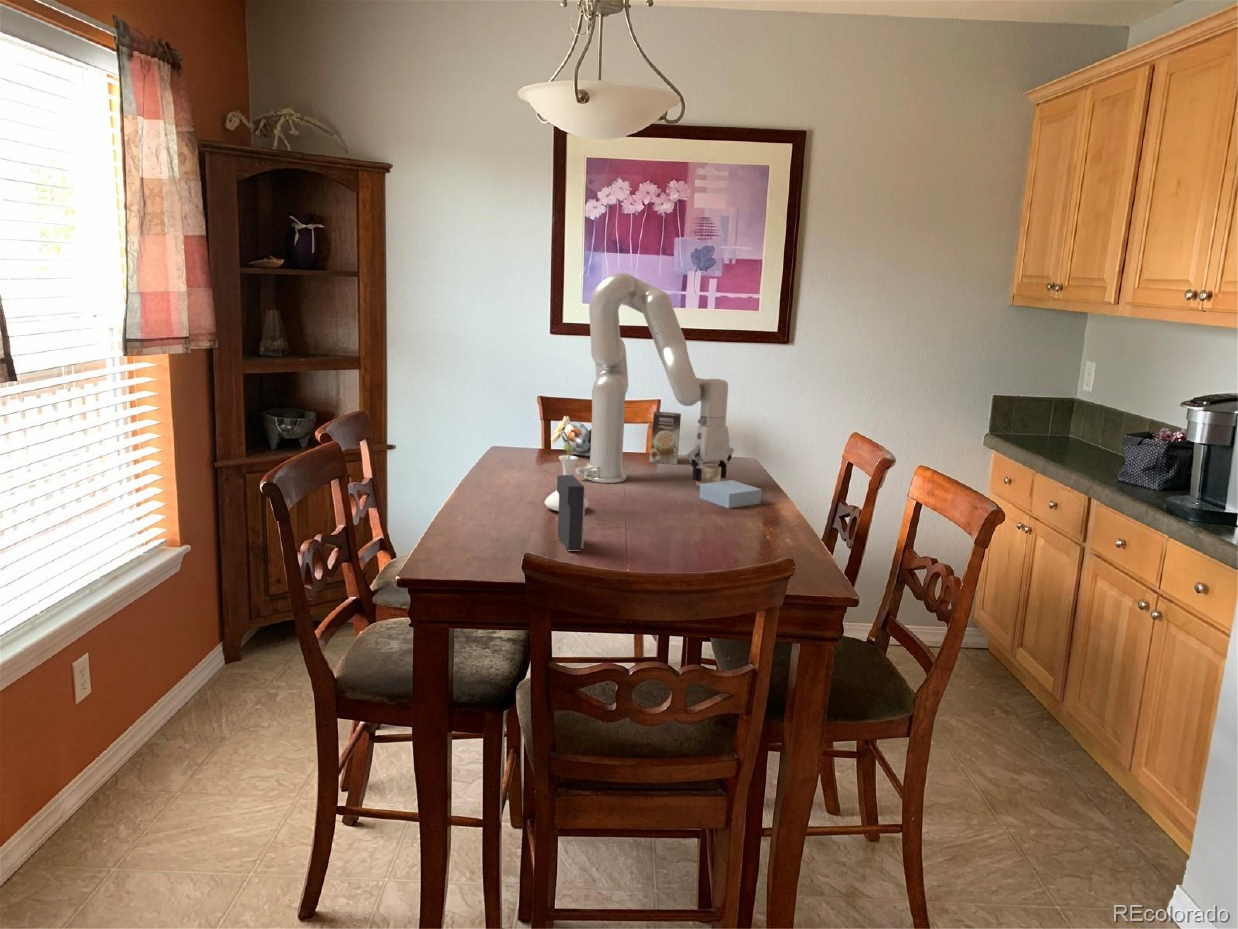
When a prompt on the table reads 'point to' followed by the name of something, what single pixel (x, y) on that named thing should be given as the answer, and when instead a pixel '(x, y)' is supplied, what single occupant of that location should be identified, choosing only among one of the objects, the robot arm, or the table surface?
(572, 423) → the lucky cat figurine
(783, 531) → the table surface
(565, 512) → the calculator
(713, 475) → the birch block
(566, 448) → the flower in vase
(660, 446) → the coffee box
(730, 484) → the base block
